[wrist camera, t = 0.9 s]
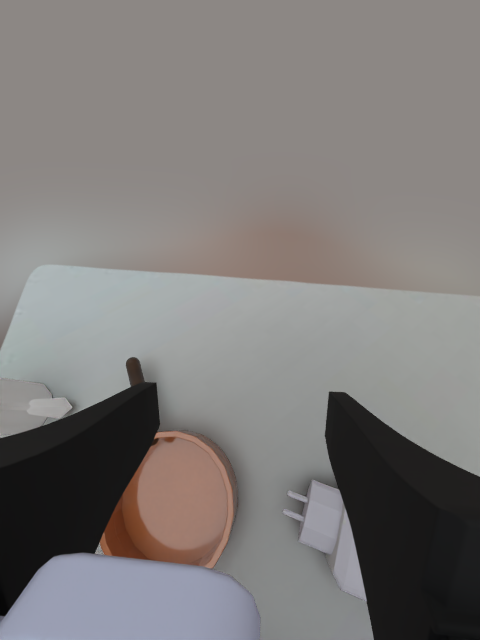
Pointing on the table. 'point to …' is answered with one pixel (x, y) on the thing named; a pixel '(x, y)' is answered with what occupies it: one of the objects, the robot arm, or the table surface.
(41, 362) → the table surface
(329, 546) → the charger
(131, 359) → the pan handle
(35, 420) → the white spray bottle
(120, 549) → the pan
